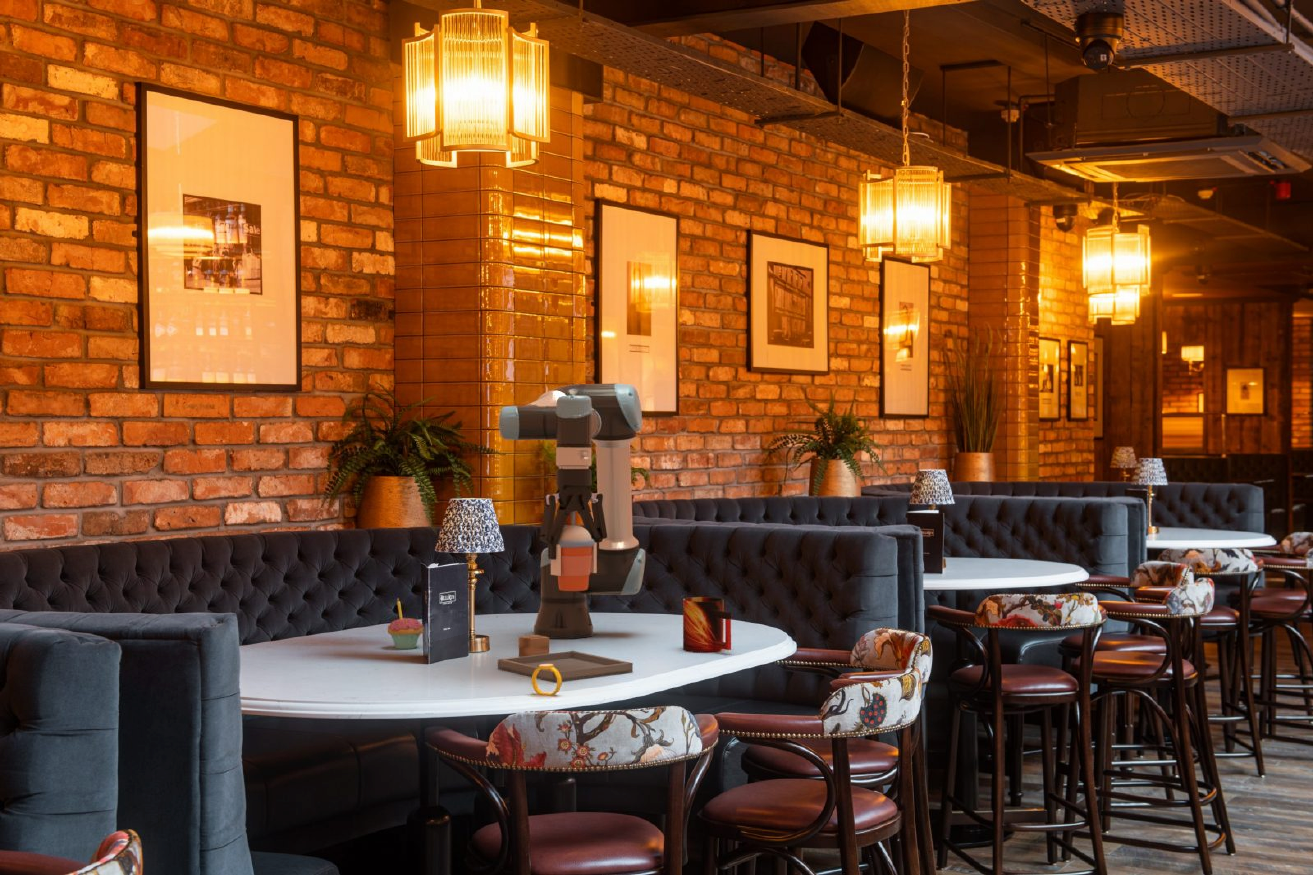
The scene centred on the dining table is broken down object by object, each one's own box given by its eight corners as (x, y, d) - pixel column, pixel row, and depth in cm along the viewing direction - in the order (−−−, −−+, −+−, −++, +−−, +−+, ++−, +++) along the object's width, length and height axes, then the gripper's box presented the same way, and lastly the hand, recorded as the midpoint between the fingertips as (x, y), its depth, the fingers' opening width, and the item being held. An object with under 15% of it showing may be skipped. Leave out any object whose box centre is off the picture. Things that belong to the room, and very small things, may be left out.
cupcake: (398, 651, 324) (398, 600, 324) (380, 647, 331) (380, 597, 331) (430, 648, 330) (430, 597, 330) (412, 644, 336) (412, 594, 336)
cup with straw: (556, 592, 288) (556, 506, 288) (548, 587, 296) (548, 504, 296) (599, 591, 290) (598, 506, 290) (589, 586, 299) (589, 503, 299)
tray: (498, 668, 300) (498, 659, 300) (573, 659, 312) (573, 650, 312) (555, 682, 282) (555, 672, 282) (632, 672, 295) (632, 663, 295)
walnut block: (518, 658, 314) (518, 636, 314) (537, 656, 317) (537, 634, 317) (530, 661, 310) (530, 639, 310) (549, 659, 313) (549, 637, 313)
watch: (530, 696, 269) (528, 665, 269) (537, 694, 271) (535, 663, 272) (557, 696, 266) (555, 665, 267) (564, 694, 269) (562, 663, 269)
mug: (729, 655, 319) (729, 603, 319) (676, 651, 325) (676, 600, 325) (746, 649, 328) (746, 599, 328) (693, 645, 334) (693, 596, 334)
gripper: (541, 468, 284) (541, 578, 284) (624, 467, 297) (624, 572, 297) (522, 468, 290) (522, 575, 290) (604, 466, 303) (604, 569, 303)
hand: (573, 573), depth 293 cm, fingers closed on cup with straw, 8 cm apart
